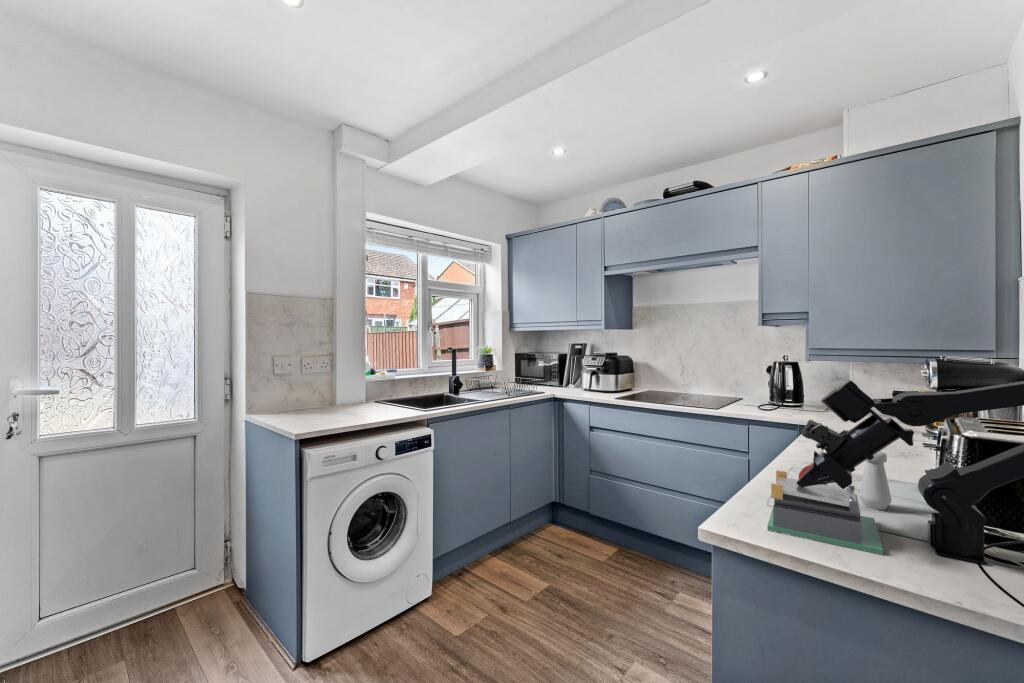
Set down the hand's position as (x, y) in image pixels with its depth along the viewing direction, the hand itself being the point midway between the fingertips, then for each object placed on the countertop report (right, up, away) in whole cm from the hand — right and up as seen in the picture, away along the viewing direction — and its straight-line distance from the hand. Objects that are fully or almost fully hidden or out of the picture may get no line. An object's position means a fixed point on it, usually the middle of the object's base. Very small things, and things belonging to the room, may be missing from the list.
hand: (798, 485), depth 93 cm
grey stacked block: (+2, -7, -2) cm, 7 cm away
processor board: (+3, -8, -2) cm, 9 cm away
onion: (+15, -8, +17) cm, 24 cm away
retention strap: (+2, -1, -2) cm, 3 cm away
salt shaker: (+23, -8, +8) cm, 26 cm away
